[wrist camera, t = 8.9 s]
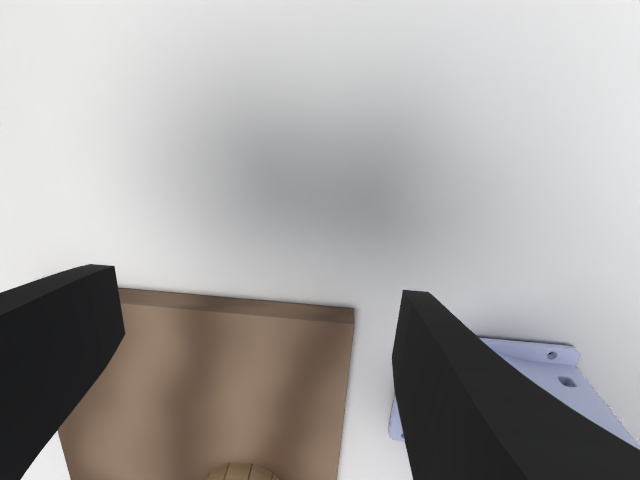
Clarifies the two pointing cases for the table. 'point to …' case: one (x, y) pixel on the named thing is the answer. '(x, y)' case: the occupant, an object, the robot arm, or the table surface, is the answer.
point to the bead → (240, 472)
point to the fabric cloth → (215, 391)
